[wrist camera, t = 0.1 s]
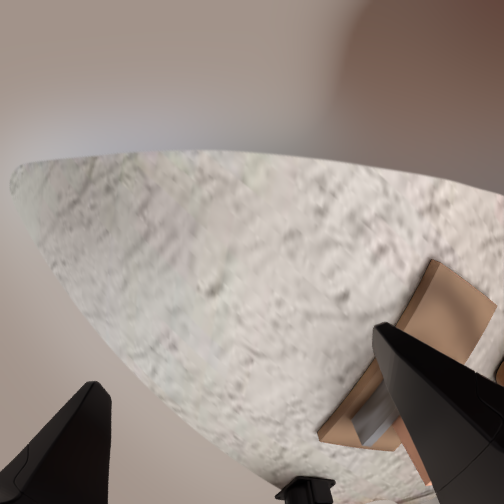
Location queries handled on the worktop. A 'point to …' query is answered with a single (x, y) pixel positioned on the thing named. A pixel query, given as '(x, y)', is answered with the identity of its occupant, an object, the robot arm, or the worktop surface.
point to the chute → (426, 330)
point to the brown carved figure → (500, 375)
